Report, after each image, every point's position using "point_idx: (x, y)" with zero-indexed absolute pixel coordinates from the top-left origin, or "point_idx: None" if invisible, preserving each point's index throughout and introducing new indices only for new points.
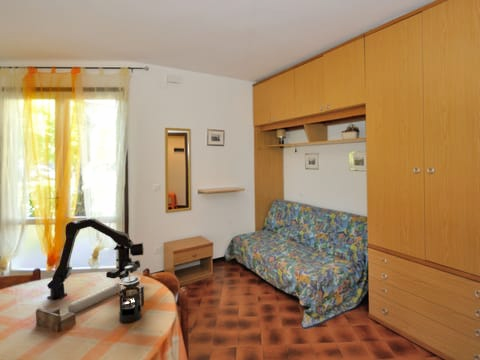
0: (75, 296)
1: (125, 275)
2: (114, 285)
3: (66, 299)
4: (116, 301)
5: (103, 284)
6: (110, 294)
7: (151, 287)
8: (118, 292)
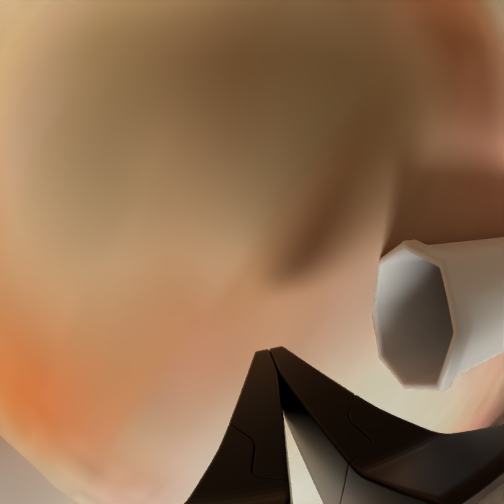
0: (470, 425)
1: (405, 469)
2: (493, 326)
3: (493, 414)
4: (491, 104)
5: (296, 496)
6: (502, 239)
7: (34, 25)
8: (403, 256)
